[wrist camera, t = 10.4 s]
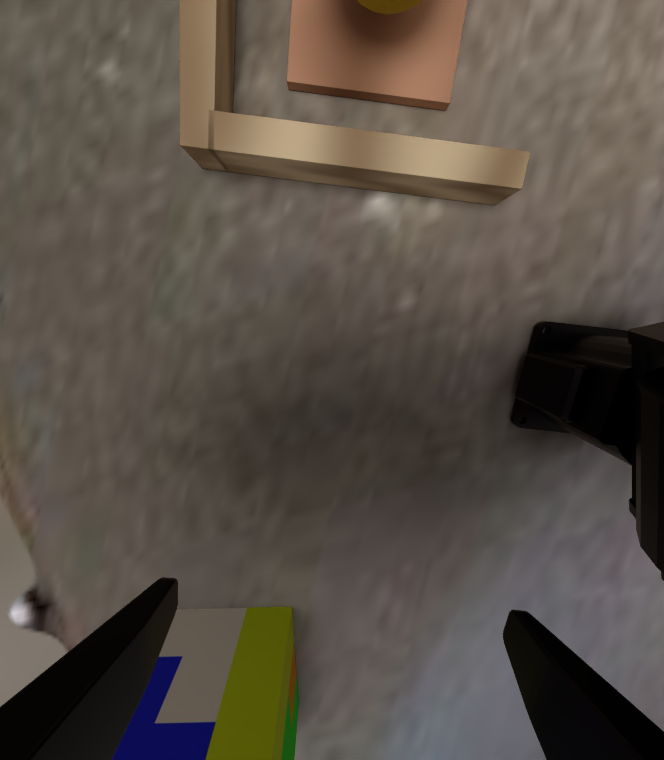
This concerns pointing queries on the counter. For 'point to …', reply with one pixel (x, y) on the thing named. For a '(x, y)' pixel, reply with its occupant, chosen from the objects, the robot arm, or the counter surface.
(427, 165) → the wooden corner frame
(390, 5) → the lemon
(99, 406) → the counter surface
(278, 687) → the puzzle toy
